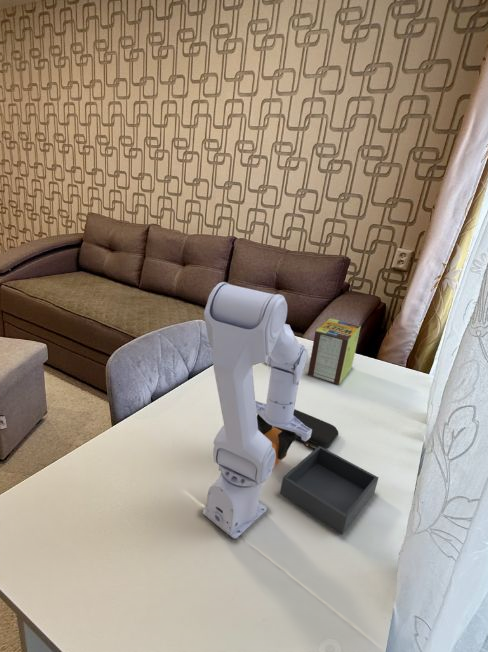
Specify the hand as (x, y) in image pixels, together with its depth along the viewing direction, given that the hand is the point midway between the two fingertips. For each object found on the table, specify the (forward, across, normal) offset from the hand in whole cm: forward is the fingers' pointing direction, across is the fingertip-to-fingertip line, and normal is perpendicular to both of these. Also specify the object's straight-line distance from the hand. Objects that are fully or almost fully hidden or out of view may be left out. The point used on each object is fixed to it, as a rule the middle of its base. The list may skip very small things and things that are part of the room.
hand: (273, 451), depth 84 cm
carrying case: (+4, +1, -15) cm, 15 cm away
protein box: (+4, +13, -52) cm, 54 cm away
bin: (+3, -13, -1) cm, 13 cm away
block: (+1, 0, 0) cm, 1 cm away
